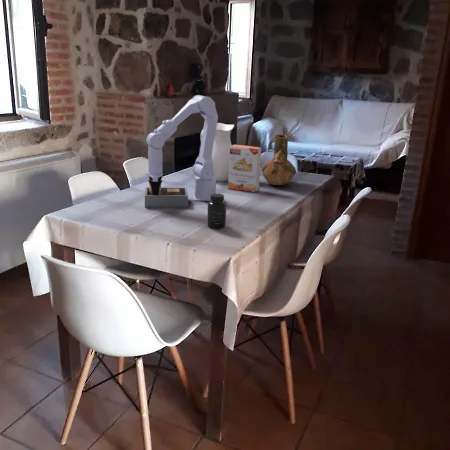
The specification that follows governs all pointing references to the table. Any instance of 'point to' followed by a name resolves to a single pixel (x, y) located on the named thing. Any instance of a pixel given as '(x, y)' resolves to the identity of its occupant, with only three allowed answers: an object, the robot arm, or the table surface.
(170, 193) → the cube
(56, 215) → the table surface
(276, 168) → the ceramic vessel
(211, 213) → the supplement bottle
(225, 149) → the pitcher
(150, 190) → the peach rounded capsule
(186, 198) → the tote
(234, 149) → the cracker box
